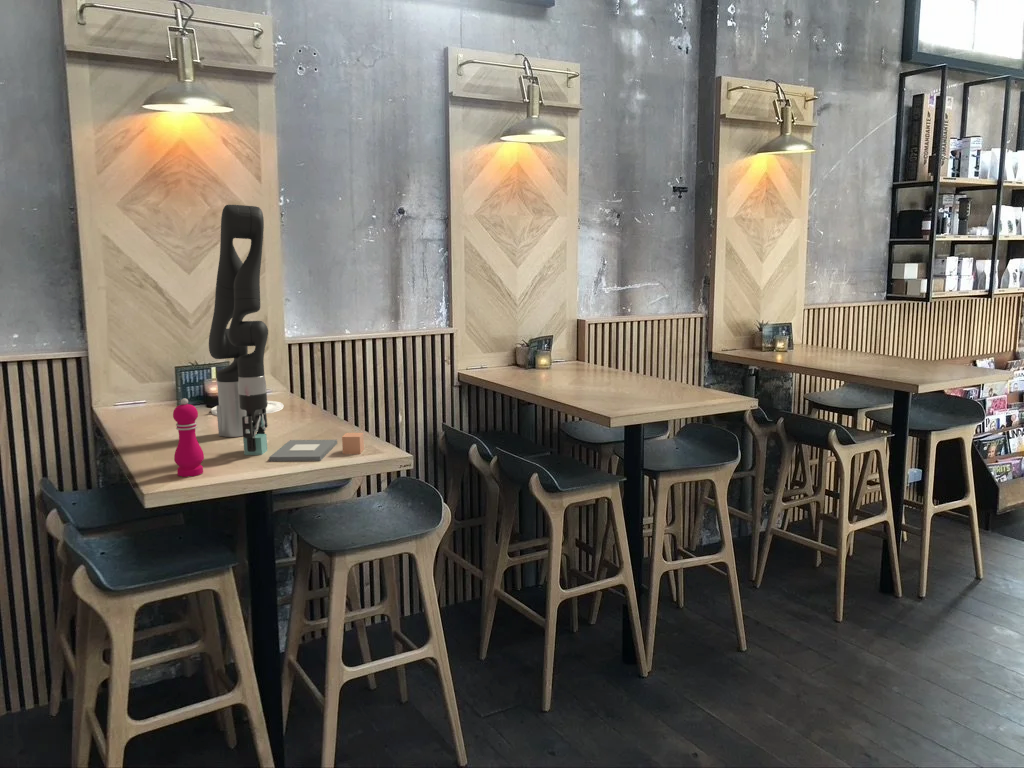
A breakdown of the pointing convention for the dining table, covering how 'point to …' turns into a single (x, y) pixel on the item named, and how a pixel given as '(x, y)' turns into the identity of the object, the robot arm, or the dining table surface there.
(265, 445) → the teal cube
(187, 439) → the pepper mill
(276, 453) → the plate
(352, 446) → the orange cube
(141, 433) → the dining table surface
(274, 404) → the dish
